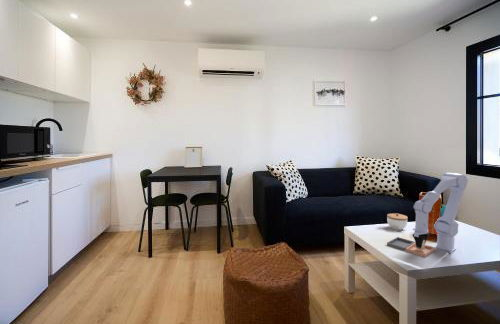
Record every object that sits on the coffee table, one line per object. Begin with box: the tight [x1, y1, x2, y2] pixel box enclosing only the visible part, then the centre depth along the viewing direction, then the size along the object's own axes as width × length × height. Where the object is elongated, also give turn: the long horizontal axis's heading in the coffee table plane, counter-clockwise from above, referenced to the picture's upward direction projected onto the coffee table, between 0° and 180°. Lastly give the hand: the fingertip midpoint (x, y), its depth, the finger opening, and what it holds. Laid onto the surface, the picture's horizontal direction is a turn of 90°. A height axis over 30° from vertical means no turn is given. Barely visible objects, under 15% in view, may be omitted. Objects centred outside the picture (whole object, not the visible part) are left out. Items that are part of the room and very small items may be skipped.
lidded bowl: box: [386, 212, 408, 231], centre depth 177 cm, size 13×13×11 cm
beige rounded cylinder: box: [415, 240, 426, 250], centre depth 140 cm, size 4×4×5 cm
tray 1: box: [386, 236, 415, 252], centre depth 148 cm, size 14×10×2 cm
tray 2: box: [405, 243, 436, 258], centre depth 140 cm, size 14×10×2 cm
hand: (420, 246), depth 140 cm, fingers closed on beige rounded cylinder, 4 cm apart
